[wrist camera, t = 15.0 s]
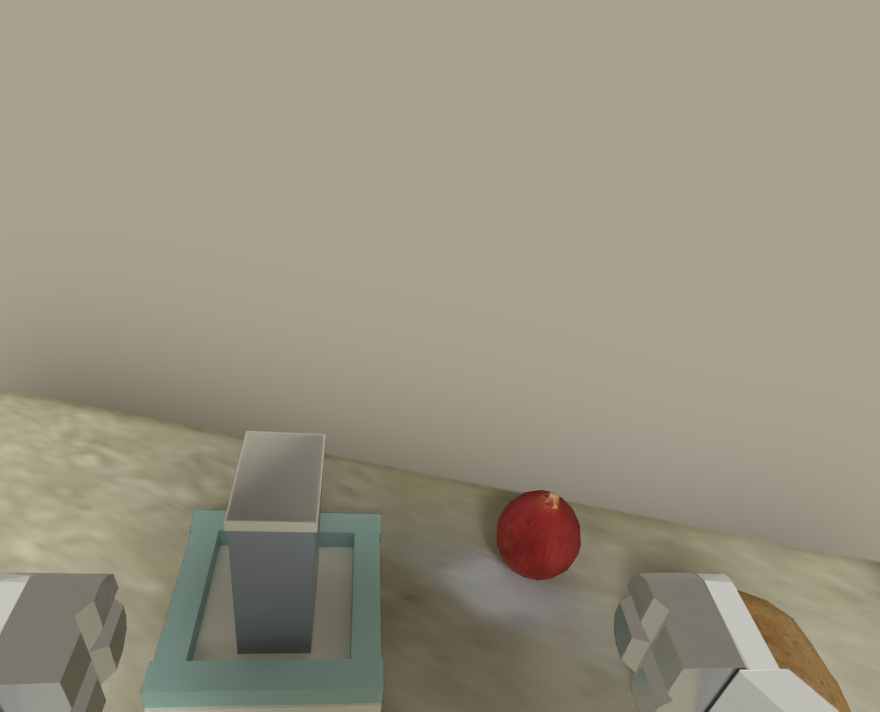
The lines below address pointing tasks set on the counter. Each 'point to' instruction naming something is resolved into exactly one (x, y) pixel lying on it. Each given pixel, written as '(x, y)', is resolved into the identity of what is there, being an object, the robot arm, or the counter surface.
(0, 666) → the robot arm
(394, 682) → the counter surface
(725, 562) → the counter surface
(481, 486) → the counter surface
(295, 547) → the blue-grey box
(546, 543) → the onion
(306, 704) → the display stand
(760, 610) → the potato
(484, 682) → the counter surface
